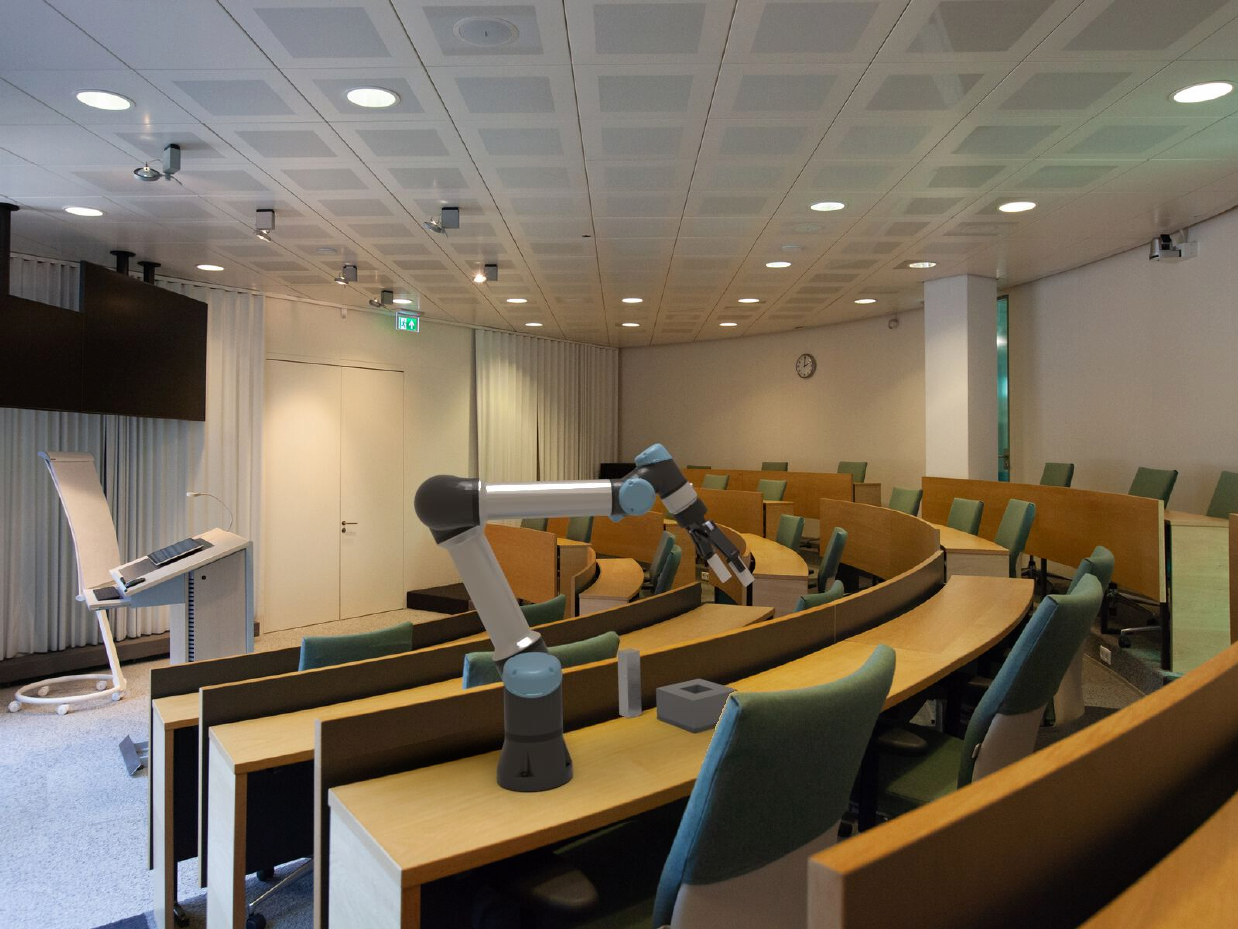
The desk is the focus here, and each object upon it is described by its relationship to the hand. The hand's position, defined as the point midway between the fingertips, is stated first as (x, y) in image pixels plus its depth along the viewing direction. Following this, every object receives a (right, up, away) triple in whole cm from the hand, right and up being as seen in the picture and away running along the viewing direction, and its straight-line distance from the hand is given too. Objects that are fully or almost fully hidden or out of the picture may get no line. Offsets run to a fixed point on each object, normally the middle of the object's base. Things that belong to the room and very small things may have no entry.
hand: (738, 581), depth 170 cm
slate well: (-8, -36, +11) cm, 38 cm away
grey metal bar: (-24, -36, +17) cm, 47 cm away
